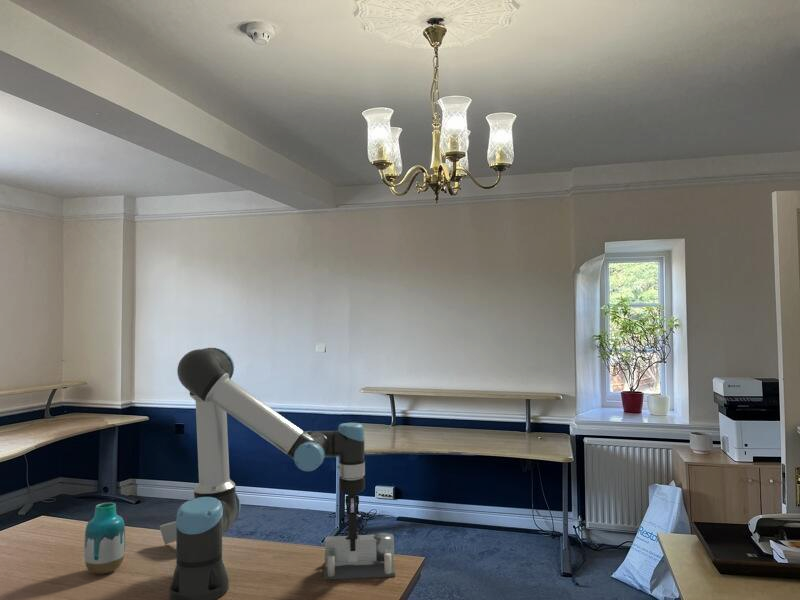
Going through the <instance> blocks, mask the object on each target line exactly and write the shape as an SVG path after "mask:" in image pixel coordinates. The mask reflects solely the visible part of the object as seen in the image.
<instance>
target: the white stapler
mask: <svg viewBox="0 0 800 600" xmlns="http://www.w3.org/2000/svg"><path fill="white" fill-rule="evenodd" d="M159 529H160V530H159V531H160V533H161V536H162V540H163V543H164V545H167V544H168V545H169V544H171V543H174V542H176V520H175V521H170V522H167V523H164V524H162V525H159Z"/></svg>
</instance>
